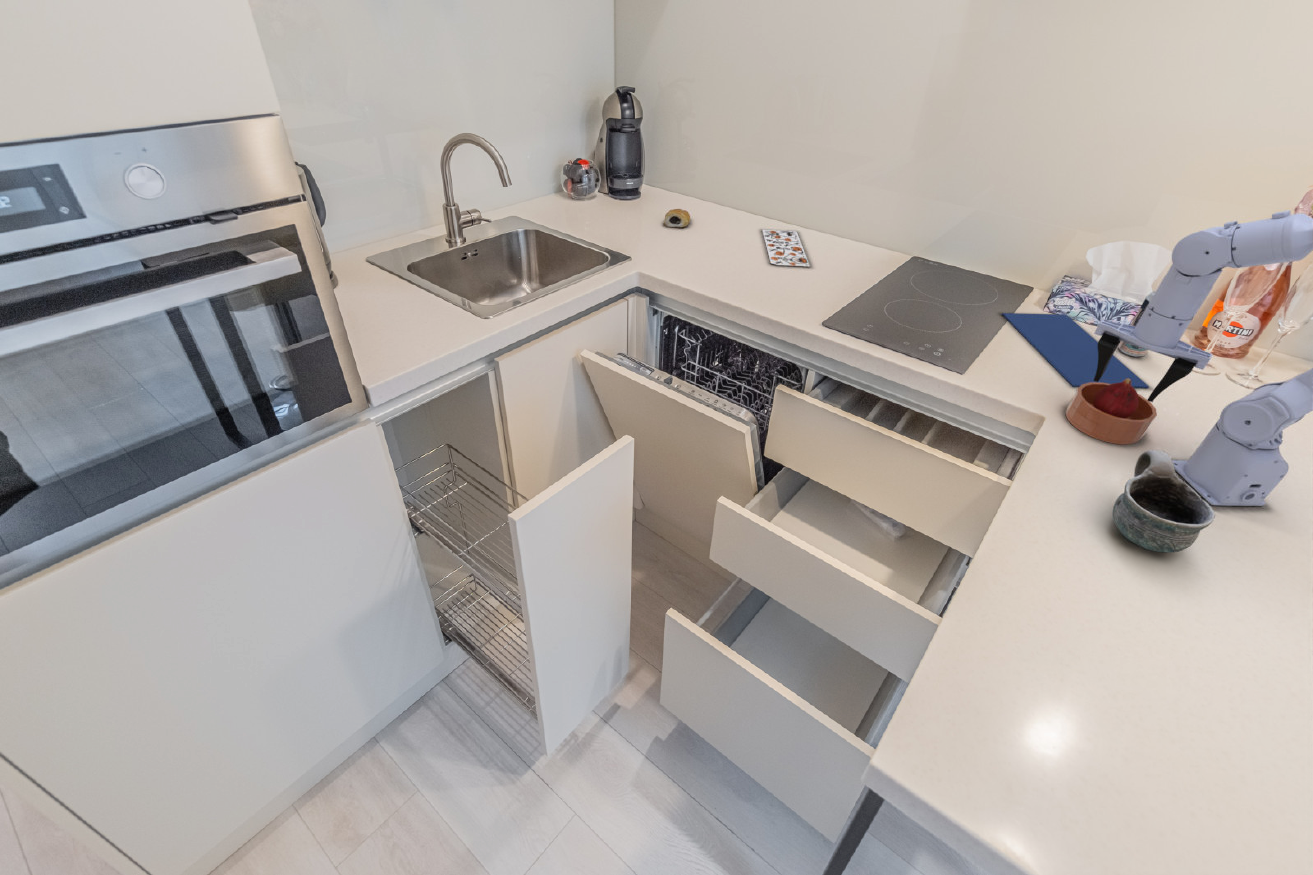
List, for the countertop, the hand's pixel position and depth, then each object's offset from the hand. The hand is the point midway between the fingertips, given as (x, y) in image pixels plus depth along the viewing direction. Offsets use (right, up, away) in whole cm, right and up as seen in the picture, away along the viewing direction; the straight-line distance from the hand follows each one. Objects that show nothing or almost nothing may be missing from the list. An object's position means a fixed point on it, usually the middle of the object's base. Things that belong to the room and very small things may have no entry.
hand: (1123, 388), depth 99 cm
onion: (0, -5, +4) cm, 7 cm away
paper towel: (-42, +41, +61) cm, 84 cm away
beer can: (+19, +9, +24) cm, 32 cm away
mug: (-10, -20, -15) cm, 27 cm away
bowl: (0, -5, +4) cm, 7 cm away
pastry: (-69, +51, +73) cm, 112 cm away
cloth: (+7, +10, +24) cm, 27 cm away
